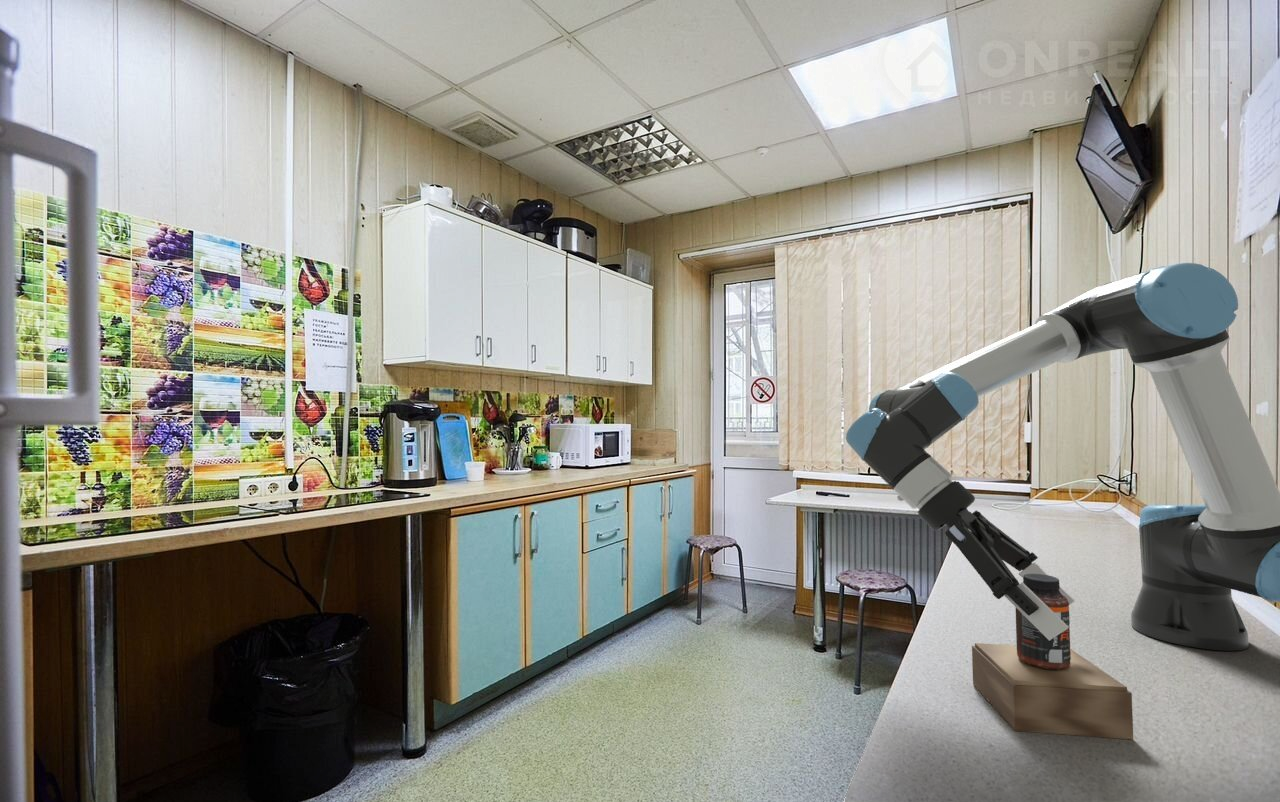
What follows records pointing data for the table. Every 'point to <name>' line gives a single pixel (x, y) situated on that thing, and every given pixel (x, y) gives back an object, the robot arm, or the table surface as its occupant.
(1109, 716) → the block
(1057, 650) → the supplement bottle
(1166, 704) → the table surface
